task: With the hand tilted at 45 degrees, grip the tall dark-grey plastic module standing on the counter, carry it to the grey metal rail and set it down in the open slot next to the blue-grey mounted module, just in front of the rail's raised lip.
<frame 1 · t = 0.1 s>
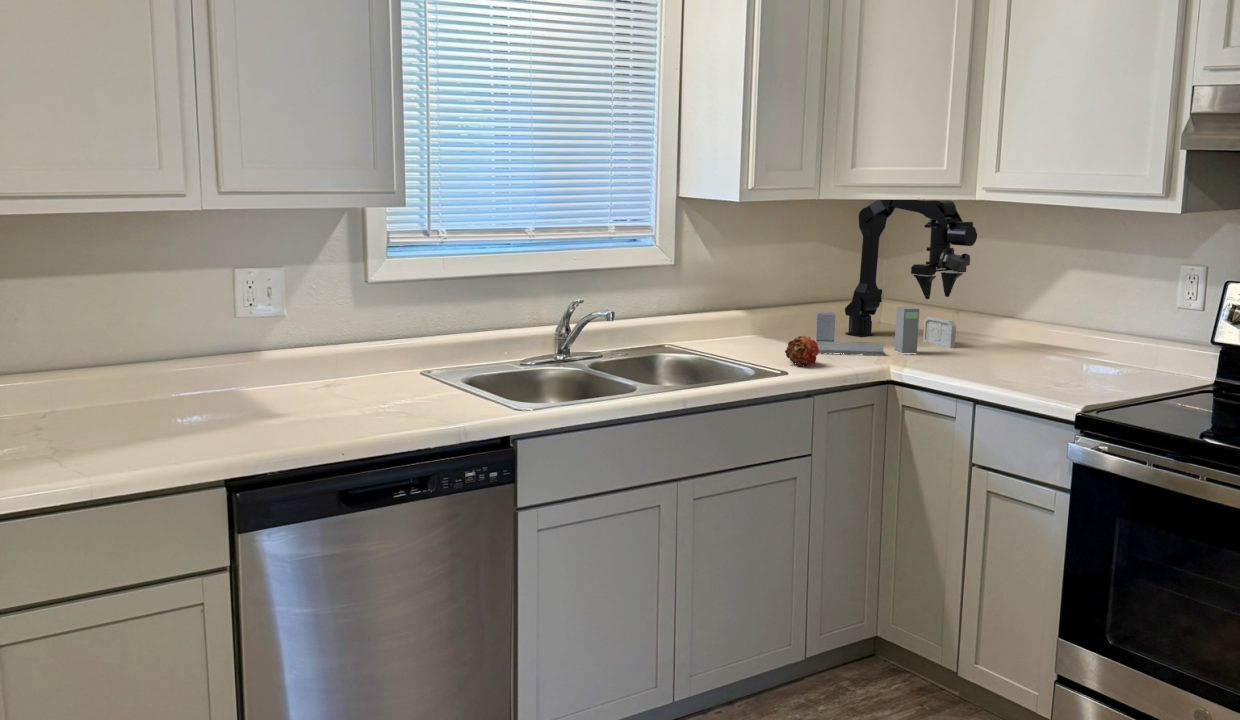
hand: (937, 297, 320), 15 cm above the countertop, tool pointing down, fingers open, 9 cm apart
light switch: (938, 345, 327), on the countertop
rail: (848, 352, 313), on the countertop
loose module: (905, 353, 313), on the countertop
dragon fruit: (801, 365, 294), on the countertop
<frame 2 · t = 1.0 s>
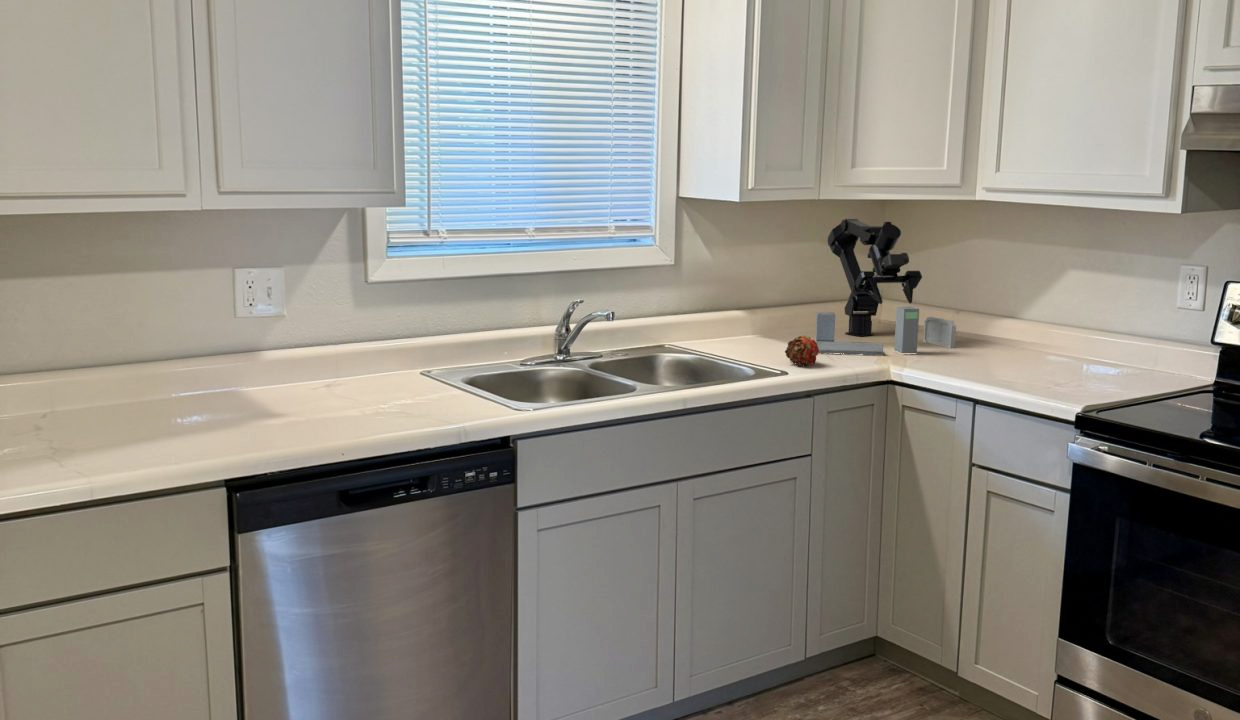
hand: (896, 302, 318), 13 cm above the countertop, tool tilted 45°, fingers open, 9 cm apart
nothing on the countertop moved.
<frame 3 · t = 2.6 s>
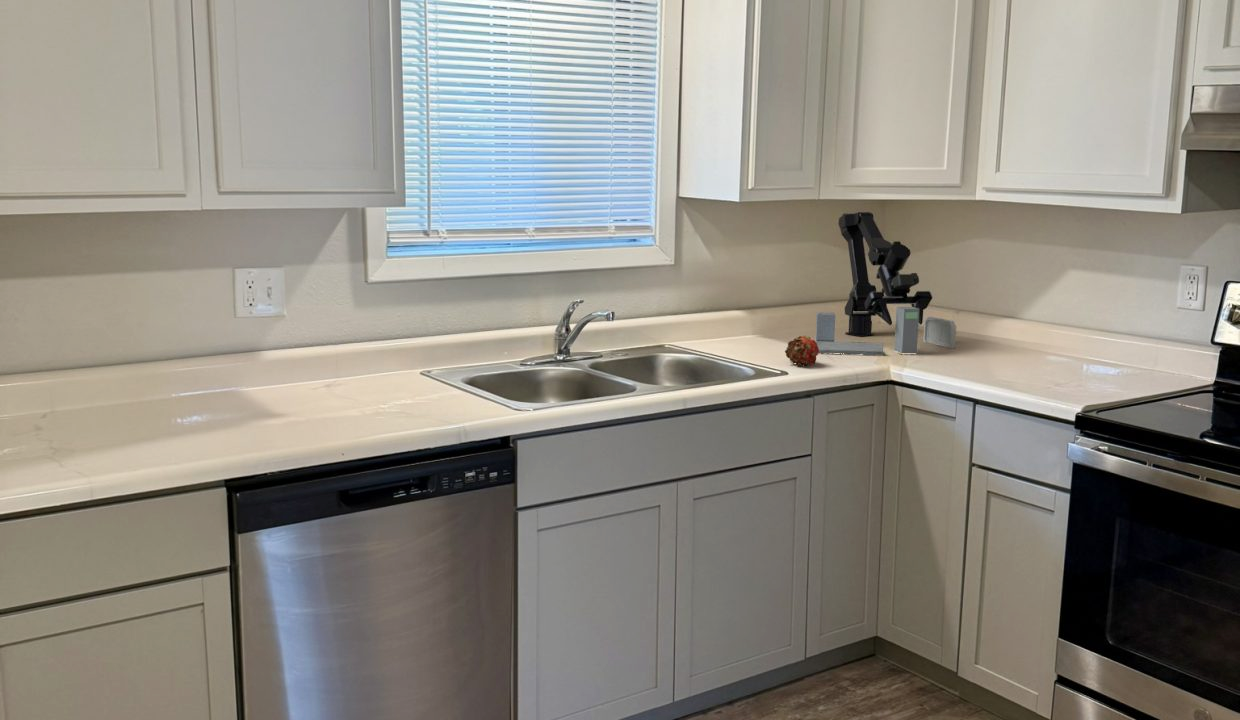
hand: (906, 324, 312), 8 cm above the countertop, tool tilted 45°, fingers open, 9 cm apart
nothing on the countertop moved.
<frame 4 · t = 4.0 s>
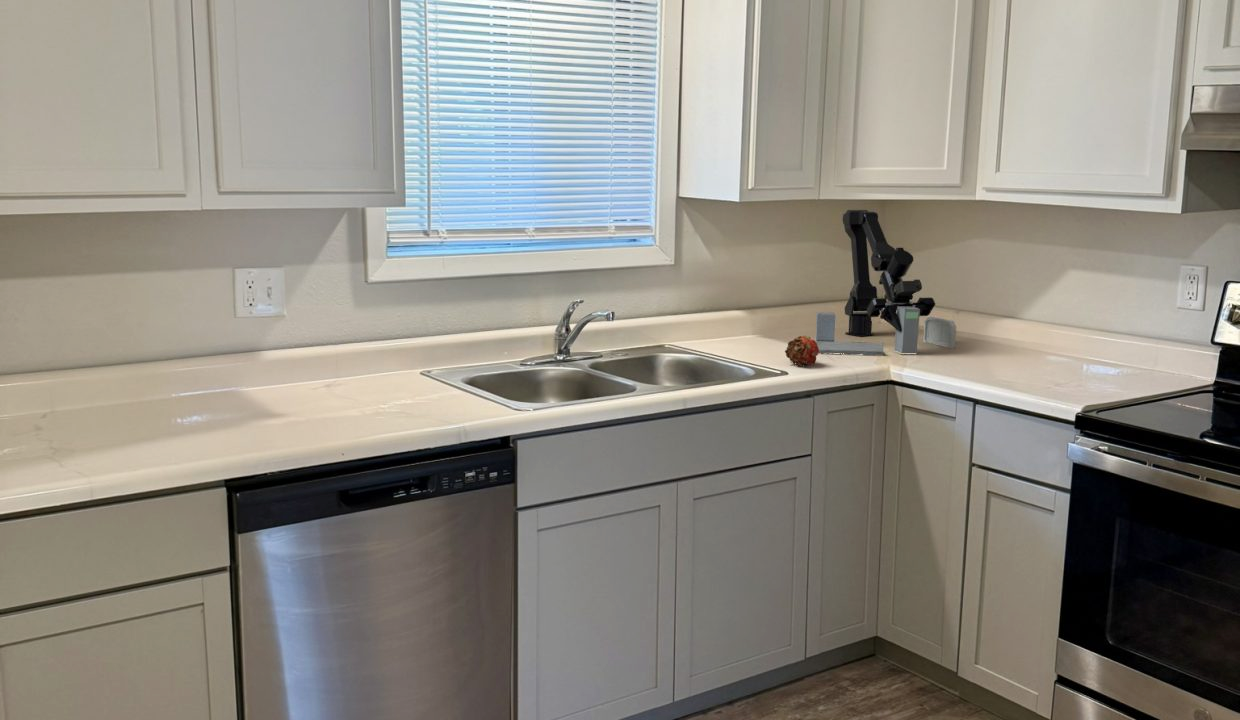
hand: (908, 330, 310), 7 cm above the countertop, tool tilted 45°, fingers closed on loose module, 5 cm apart
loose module: (905, 353, 313), on the countertop, touching gripper
everything else where it was.
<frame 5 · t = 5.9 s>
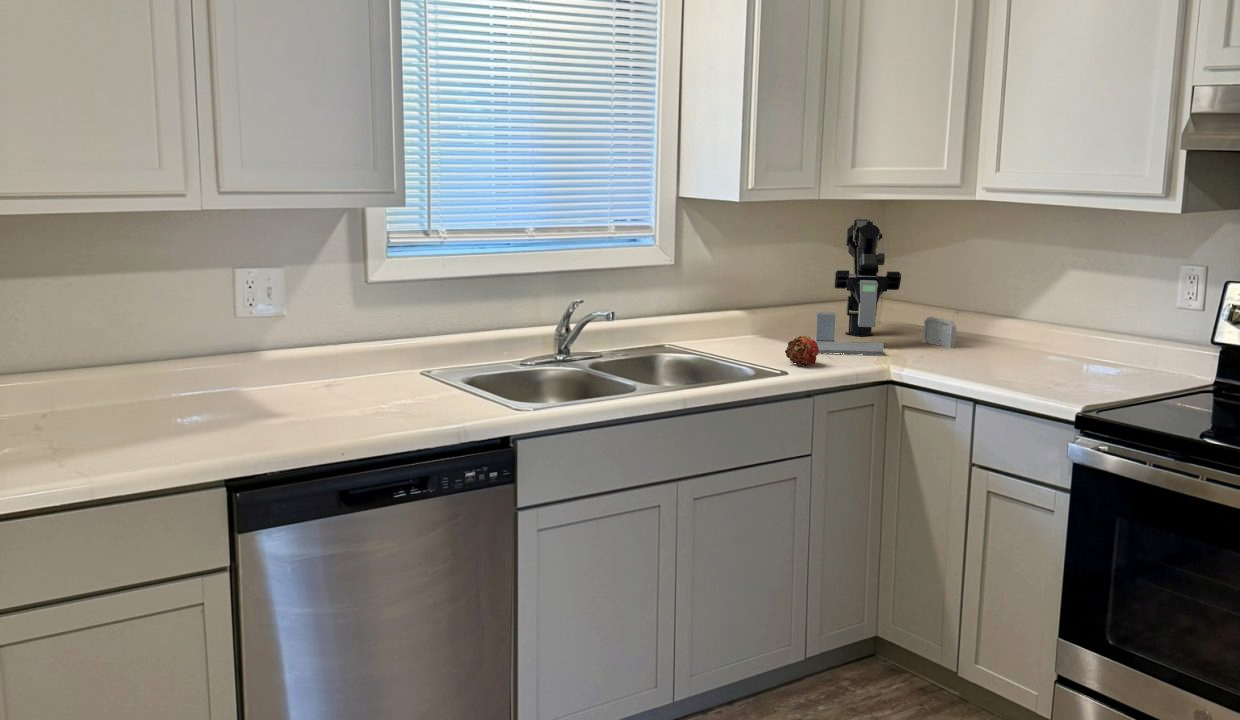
hand: (868, 302, 318), 13 cm above the countertop, tool tilted 45°, fingers closed on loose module, 4 cm apart
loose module: (866, 325, 320), point 6 cm above the countertop, touching gripper
everything else where it was.
when the fingers open (9 cm above the countertop, at t = 8.2 s): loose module stays where it is, resting on rail.
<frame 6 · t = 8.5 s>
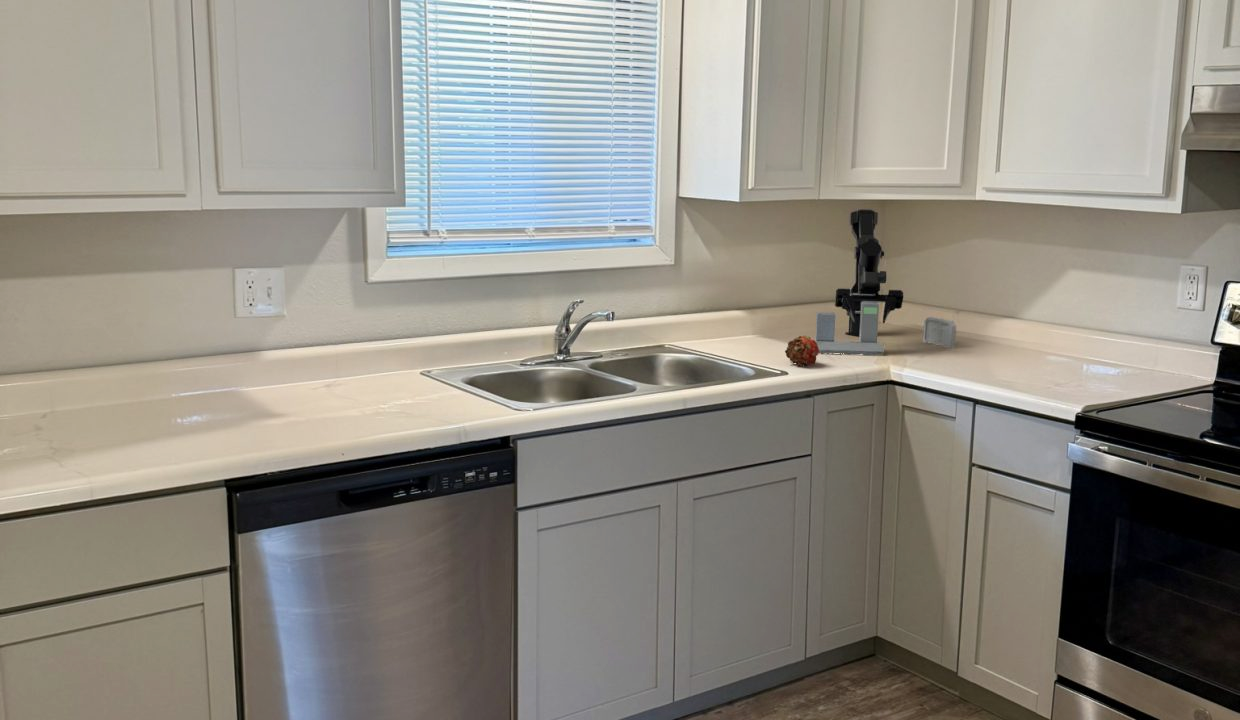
hand: (869, 322, 309), 9 cm above the countertop, tool tilted 45°, fingers open, 8 cm apart
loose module: (867, 348, 312), point 1 cm above the countertop, touching rail
everything else where it was.
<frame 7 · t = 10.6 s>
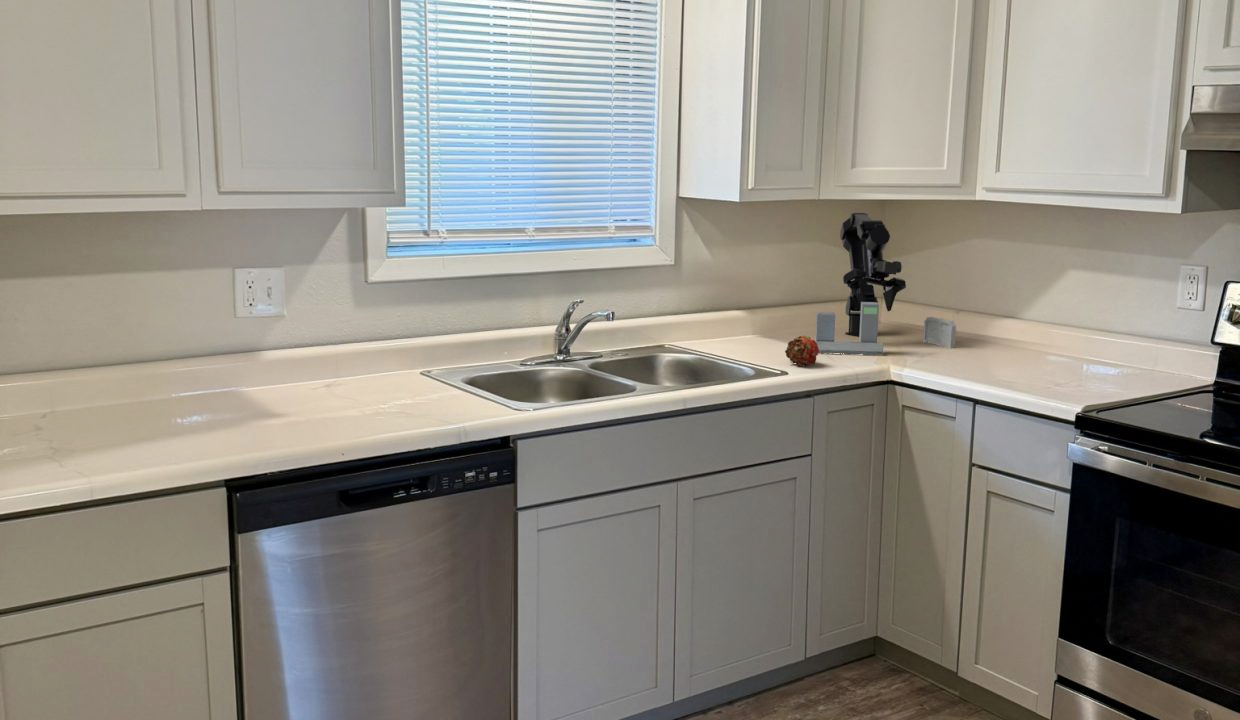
hand: (876, 308, 321), 11 cm above the countertop, tool tilted 30°, fingers open, 9 cm apart
nothing on the countertop moved.
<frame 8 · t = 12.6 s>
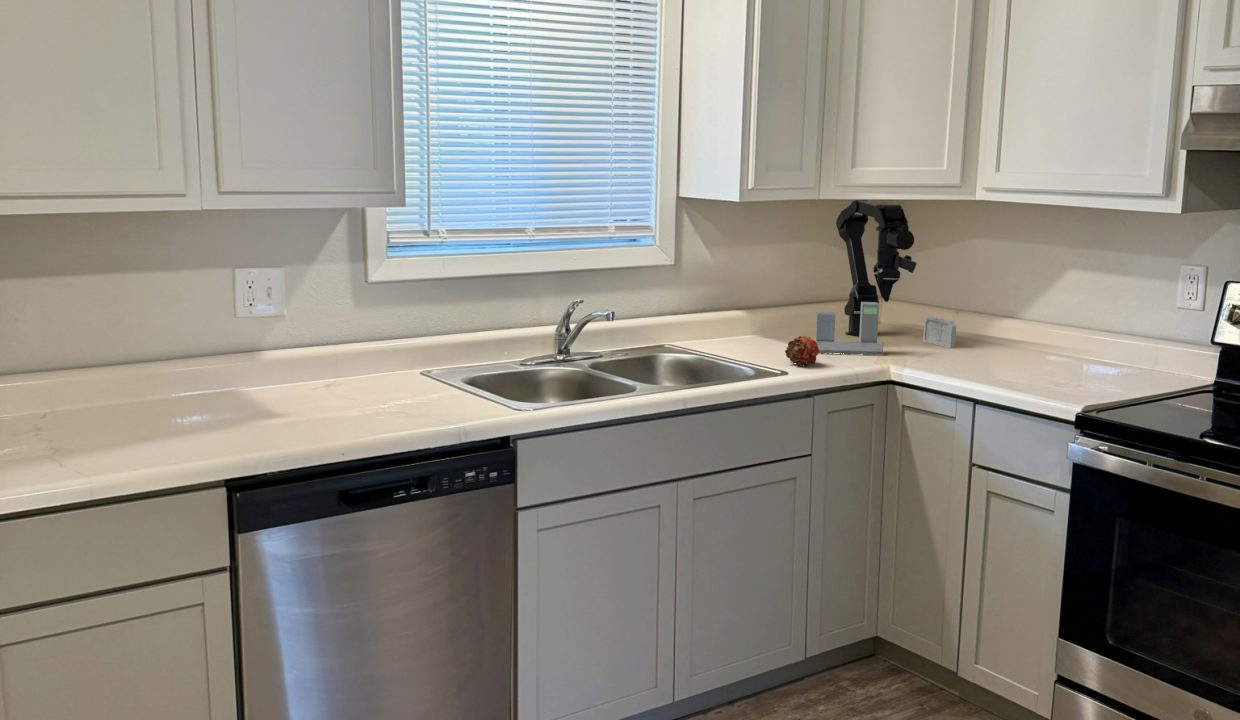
hand: (884, 299, 328), 13 cm above the countertop, tool pointing down, fingers open, 9 cm apart
nothing on the countertop moved.
at the end: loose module 0.0 cm from the target spot, point 1.2 cm above the countertop; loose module tilted 0°; the gripper is holding nothing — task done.
